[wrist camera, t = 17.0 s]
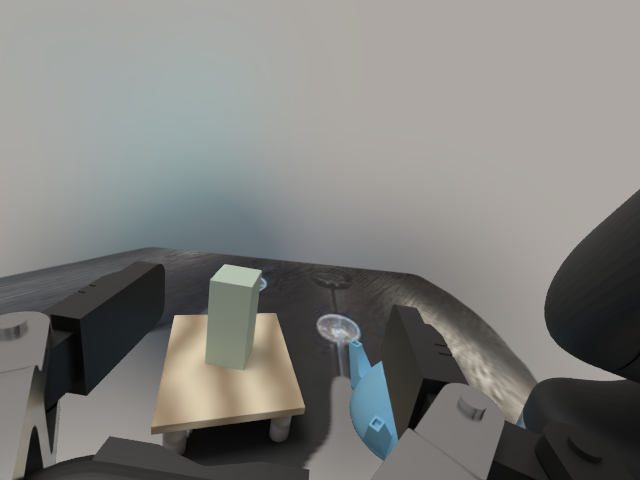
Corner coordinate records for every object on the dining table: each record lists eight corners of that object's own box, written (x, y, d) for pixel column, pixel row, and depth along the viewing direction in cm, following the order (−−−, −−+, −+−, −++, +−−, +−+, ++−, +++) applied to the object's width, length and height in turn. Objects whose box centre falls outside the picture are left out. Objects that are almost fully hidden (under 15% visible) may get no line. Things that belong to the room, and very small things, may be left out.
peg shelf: (271, 342, 56) (275, 313, 54) (297, 445, 38) (305, 407, 37) (173, 347, 51) (174, 315, 49) (151, 470, 33) (151, 427, 31)
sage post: (252, 346, 45) (261, 270, 42) (243, 370, 40) (252, 287, 37) (218, 340, 45) (224, 264, 42) (204, 363, 40) (210, 280, 37)
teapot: (479, 492, 37) (511, 422, 33) (354, 486, 35) (375, 411, 32) (428, 391, 51) (447, 335, 48) (337, 383, 49) (351, 325, 46)
